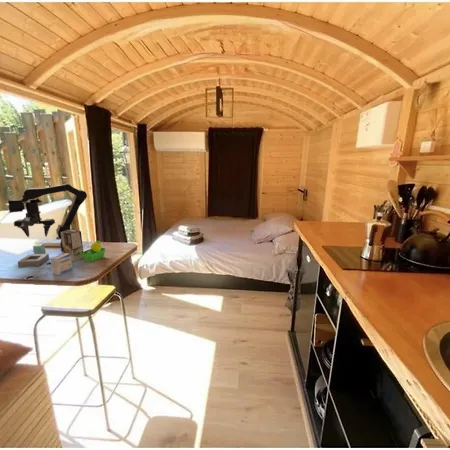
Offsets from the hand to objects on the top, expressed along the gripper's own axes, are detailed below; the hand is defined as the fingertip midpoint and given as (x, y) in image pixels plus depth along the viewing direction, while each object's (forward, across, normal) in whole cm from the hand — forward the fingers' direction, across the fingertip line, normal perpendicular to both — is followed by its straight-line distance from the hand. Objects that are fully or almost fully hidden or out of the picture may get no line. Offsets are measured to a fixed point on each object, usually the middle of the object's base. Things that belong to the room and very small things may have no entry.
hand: (37, 236), depth 148 cm
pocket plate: (+11, +3, -13) cm, 17 cm away
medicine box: (+11, +23, -29) cm, 39 cm away
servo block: (+11, 0, 0) cm, 11 cm away
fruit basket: (+11, +34, -13) cm, 38 cm away
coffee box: (+11, +22, -10) cm, 26 cm away
